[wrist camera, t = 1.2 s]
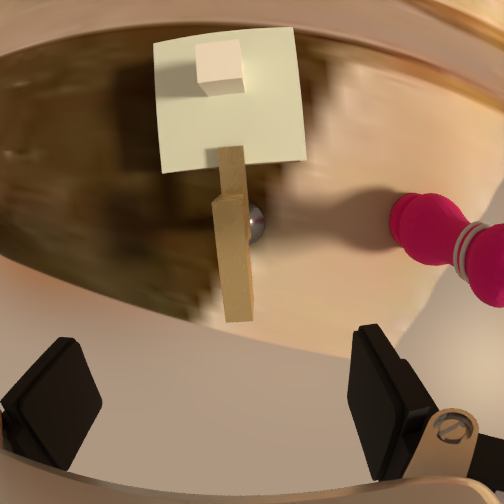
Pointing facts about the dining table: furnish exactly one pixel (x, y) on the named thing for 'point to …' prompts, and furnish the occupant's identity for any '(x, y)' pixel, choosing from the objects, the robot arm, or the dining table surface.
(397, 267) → the dining table surface
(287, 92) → the cover
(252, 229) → the silver metal disc
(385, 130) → the dining table surface
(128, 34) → the dining table surface
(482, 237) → the pepper mill
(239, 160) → the key
